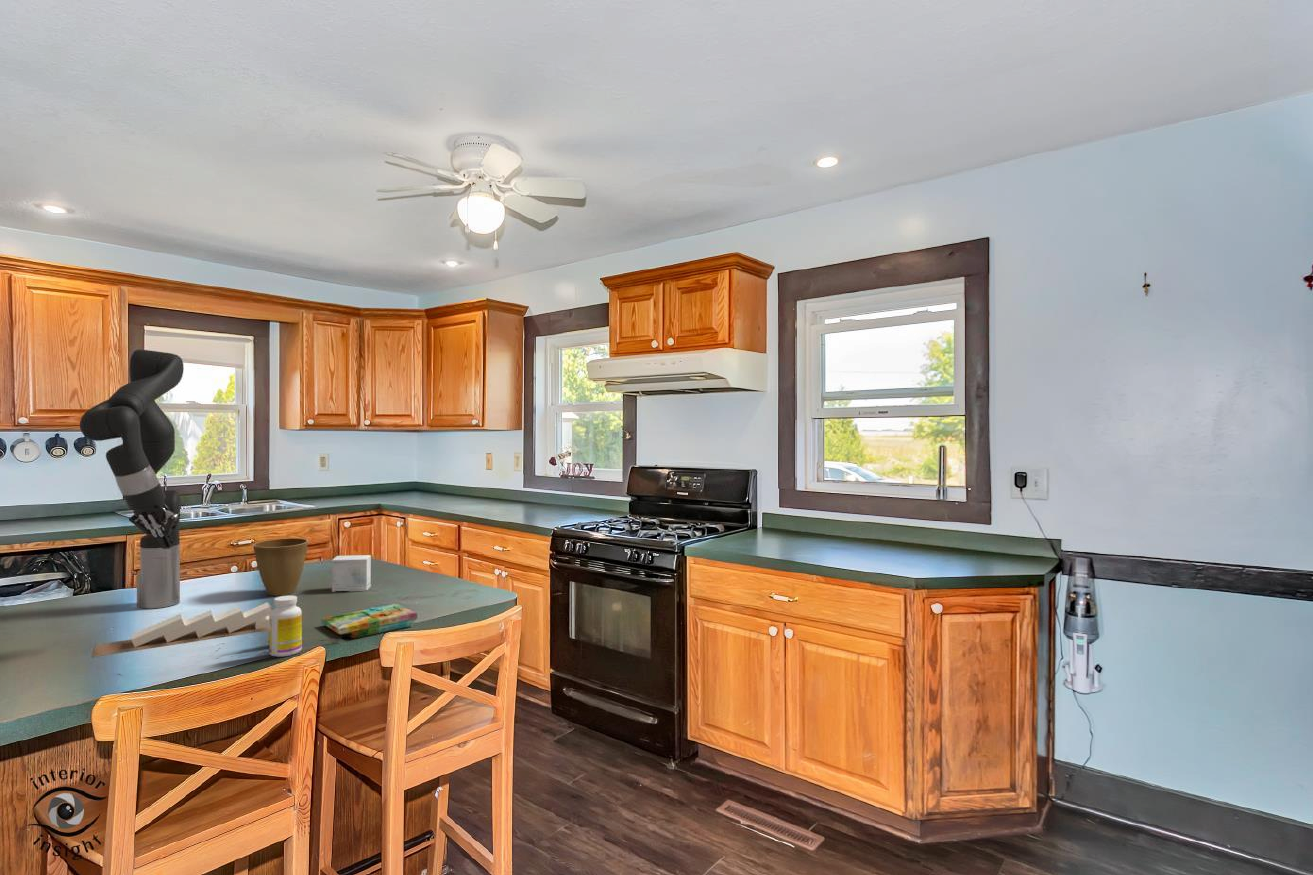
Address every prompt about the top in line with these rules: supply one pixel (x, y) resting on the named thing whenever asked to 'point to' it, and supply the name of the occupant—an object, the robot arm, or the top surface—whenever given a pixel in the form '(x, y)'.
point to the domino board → (161, 641)
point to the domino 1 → (157, 630)
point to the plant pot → (280, 564)
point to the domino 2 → (191, 625)
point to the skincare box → (351, 573)
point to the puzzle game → (371, 620)
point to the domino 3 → (221, 621)
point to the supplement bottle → (285, 627)
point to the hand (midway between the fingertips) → (168, 547)
